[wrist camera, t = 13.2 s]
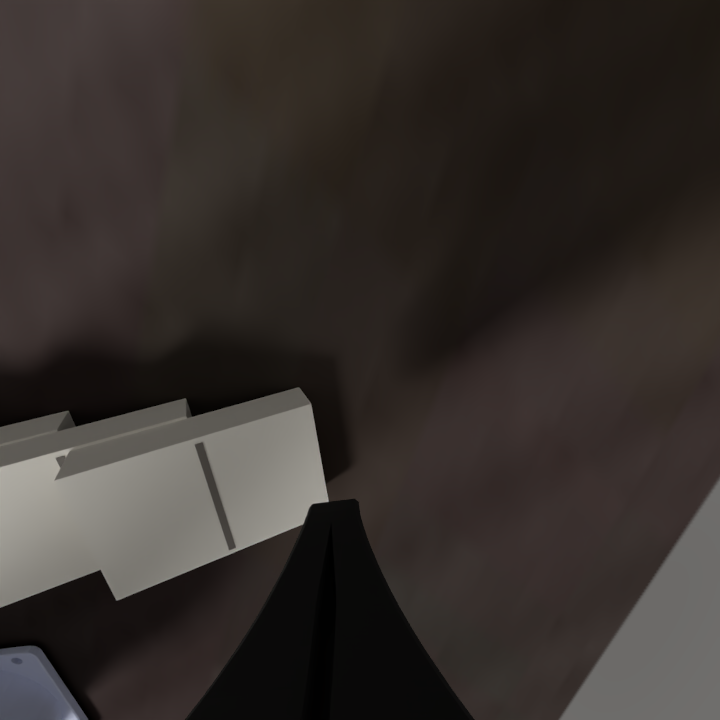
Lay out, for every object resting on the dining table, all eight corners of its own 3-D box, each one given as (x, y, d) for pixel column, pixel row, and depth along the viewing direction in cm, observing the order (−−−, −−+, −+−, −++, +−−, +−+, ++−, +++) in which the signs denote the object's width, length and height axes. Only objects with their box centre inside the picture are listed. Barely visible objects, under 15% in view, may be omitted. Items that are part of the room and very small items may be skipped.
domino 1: (218, 498, 16) (4, 574, 14) (185, 397, 14) (-69, 464, 12) (221, 524, 15) (-17, 614, 12) (186, 416, 13) (-103, 495, 10)
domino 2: (318, 488, 16) (123, 563, 14) (298, 387, 14) (69, 450, 12) (330, 513, 15) (116, 601, 12) (311, 404, 13) (54, 480, 10)
